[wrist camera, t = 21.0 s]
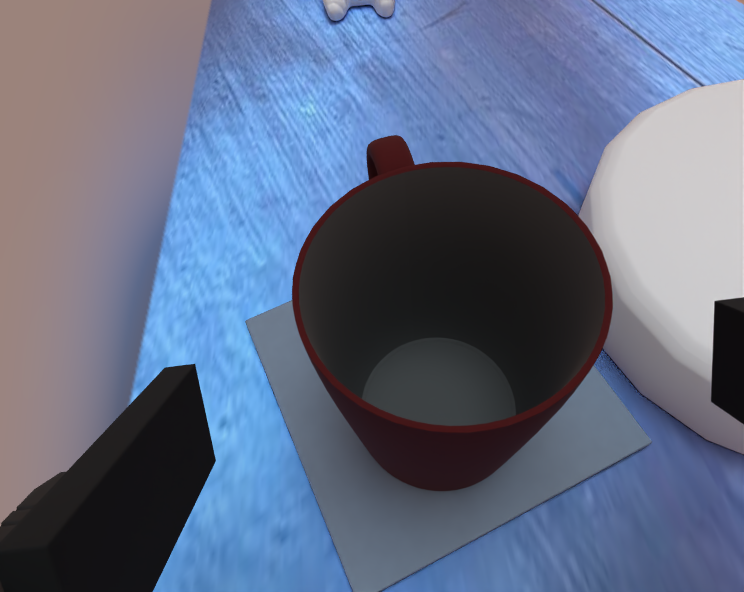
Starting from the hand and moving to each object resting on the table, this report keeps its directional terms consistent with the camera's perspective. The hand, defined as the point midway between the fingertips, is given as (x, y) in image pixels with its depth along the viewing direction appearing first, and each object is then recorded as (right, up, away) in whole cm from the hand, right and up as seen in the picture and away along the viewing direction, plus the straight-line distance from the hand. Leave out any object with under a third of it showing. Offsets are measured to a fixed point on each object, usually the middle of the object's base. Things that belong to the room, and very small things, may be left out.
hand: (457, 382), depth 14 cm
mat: (+1, -2, +12) cm, 12 cm away
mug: (0, -2, +12) cm, 12 cm away
